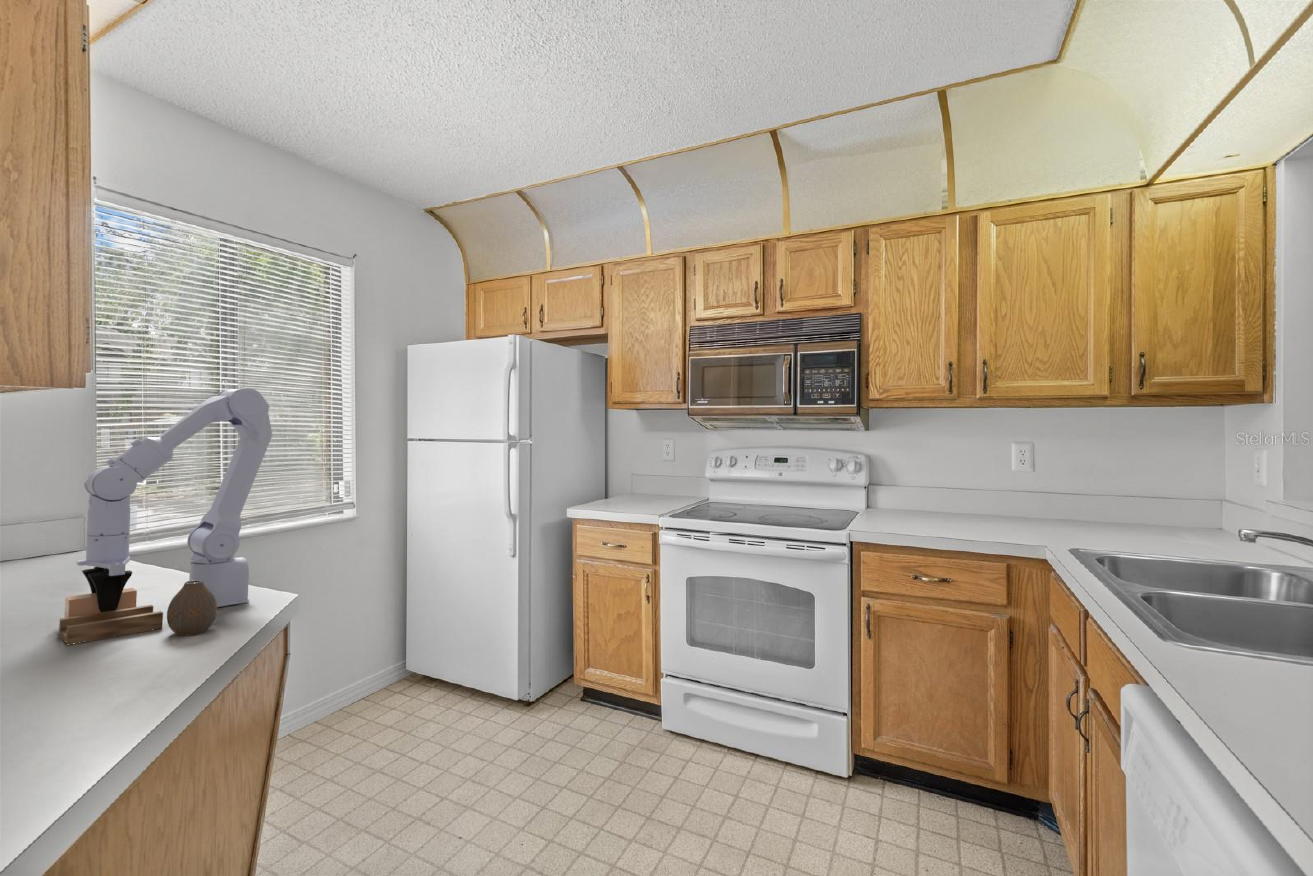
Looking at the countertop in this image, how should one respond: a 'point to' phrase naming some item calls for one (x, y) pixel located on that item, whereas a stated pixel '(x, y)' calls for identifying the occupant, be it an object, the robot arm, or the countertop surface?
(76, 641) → the rack
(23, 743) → the countertop surface
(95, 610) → the clay strip
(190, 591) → the vase
